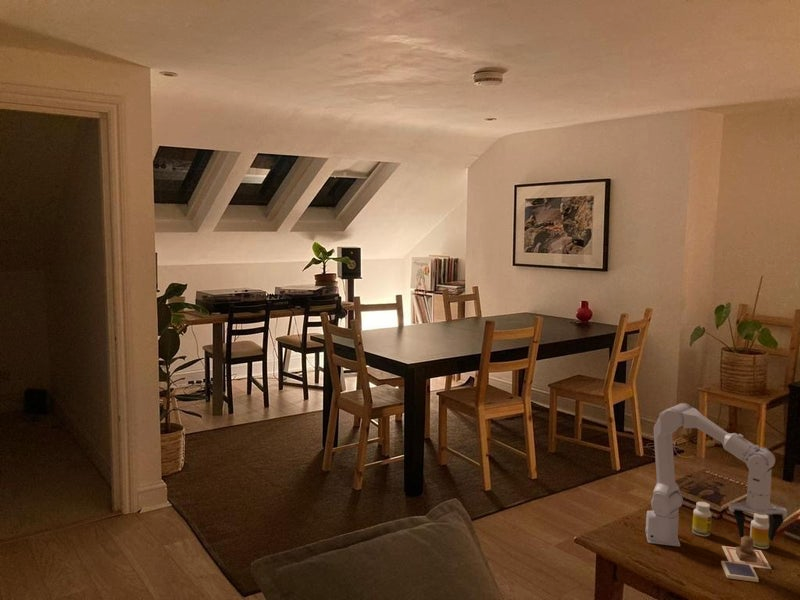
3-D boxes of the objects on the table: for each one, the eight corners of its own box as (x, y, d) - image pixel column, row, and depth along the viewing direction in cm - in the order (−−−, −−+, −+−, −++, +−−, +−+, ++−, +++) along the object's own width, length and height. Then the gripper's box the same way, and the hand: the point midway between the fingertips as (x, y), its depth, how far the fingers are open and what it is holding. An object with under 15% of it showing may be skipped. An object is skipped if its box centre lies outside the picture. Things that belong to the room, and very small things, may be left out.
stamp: (739, 560, 192) (741, 541, 192) (735, 552, 197) (737, 534, 196) (756, 562, 191) (757, 543, 191) (752, 554, 196) (753, 535, 195)
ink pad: (727, 578, 183) (727, 574, 183) (721, 563, 191) (721, 560, 191) (758, 582, 181) (758, 578, 181) (751, 567, 189) (751, 563, 189)
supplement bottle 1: (709, 538, 206) (711, 509, 205) (690, 534, 209) (692, 505, 208) (711, 531, 211) (713, 503, 210) (693, 527, 214) (695, 499, 213)
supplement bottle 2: (771, 550, 199) (773, 520, 198) (752, 548, 200) (754, 518, 199) (765, 541, 204) (767, 512, 203) (747, 540, 205) (749, 510, 204)
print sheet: (729, 564, 191) (729, 563, 191) (721, 546, 201) (721, 545, 201) (771, 569, 188) (771, 568, 188) (761, 551, 198) (761, 550, 198)
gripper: (734, 494, 182) (731, 540, 183) (791, 500, 178) (788, 547, 180) (728, 485, 188) (725, 529, 190) (783, 490, 185) (780, 535, 186)
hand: (755, 537), depth 185 cm, fingers open, 7 cm apart
